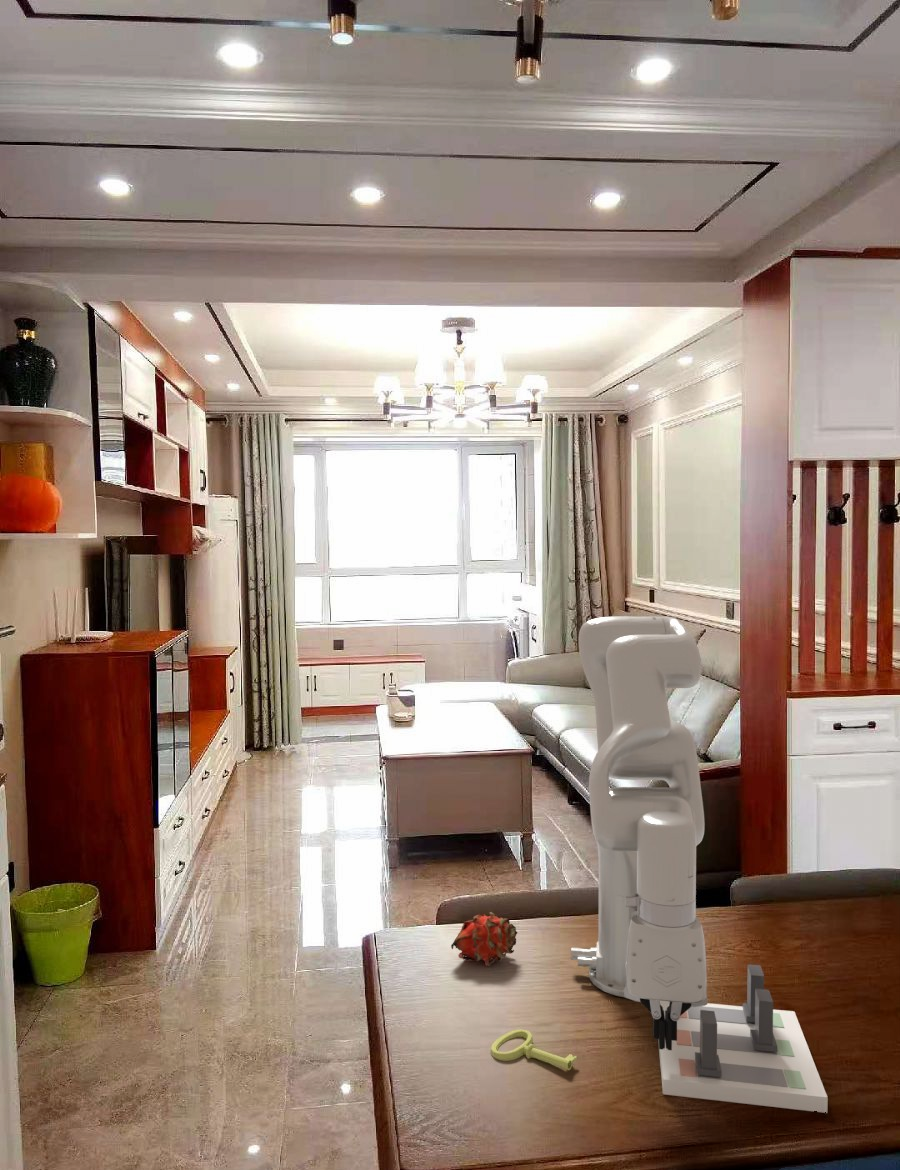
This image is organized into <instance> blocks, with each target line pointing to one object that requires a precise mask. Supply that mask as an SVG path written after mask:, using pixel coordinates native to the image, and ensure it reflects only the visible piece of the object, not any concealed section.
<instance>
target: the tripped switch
mask: <svg viewBox="0 0 900 1170" xmlns="http://www.w3.org/2000/svg"><path fill="white" fill-rule="evenodd" d="M695 1062H696V1068H697V1074H698V1075H707V1076H716V1077H722V1070H721V1065H720V1060H719V1056H718V1055H717V1021H716V1017H715V1012H714V1011H708V1010H700V1053H698V1052H695Z"/></svg>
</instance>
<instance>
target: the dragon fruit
mask: <svg viewBox="0 0 900 1170" xmlns="http://www.w3.org/2000/svg"><path fill="white" fill-rule="evenodd" d="M487 913H488V915H489V916H487V915H486V914H485V913H484V914H482V915H481V914H477V915H474V916H473V917H472V919H469V920H466V921H464V922H463V925H462V927H461V929H460V931H459V933H458V934H457V936H456V938H455V939H454V940H453V942H452V943H451V945H450V948H451V950H453V949H454V948H455V949H458V950H459V951H461V952H459V953H458V958H459V959H461V960H463V961H465V962H480V961H481V960H483V961H484V963H485V966H486V967H490V965H491V964H493V963H495V962H499V961H500V960H502V958H506V956H507V954H510V955H511V954H513V953H514V952H515V950H514V949H513V948H514V946H515V945H516V944H517V938H516V937H517V934H518V933H519V932H518V931H517V927H516V926H515V925H514V924H512V923H511V922H510V920H509V918H503V917H502V916H501V917H500V918H499V917H498V915H497V914H495V913H493V912H492V911H491V912H487Z"/></svg>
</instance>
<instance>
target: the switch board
mask: <svg viewBox="0 0 900 1170" xmlns="http://www.w3.org/2000/svg"><path fill="white" fill-rule="evenodd" d="M669 1003H670V1001H660V1005H661V1006H662V1007H663V1010H664V1016H665V1011H667V1007H668V1006H669ZM700 1010H708V1011H714V1012H715V1017H716V1021H717V1055H718V1056H719V1060H720V1065H721V1070H722V1077H716V1076H707V1075H698V1074H697V1068H696V1062H695V1052H698V1053H700ZM750 1029H752V1030H755V1022H746V1019H745V1015H744V1011H743V1006H742V1005H741V1006H740V1005H730V1004H729V1005H728V1004H720V1003H718V1004H717V1003H709V1002H708V1003H707V1005H705V1006H698V1007H690V1008H689V1009H688V1010H687V1011H686V1012H684V1013H683V1014H682V1015H681V1016H680V1018H679V1020H678V1021H677V1041H673V1040H672V1050H668V1049H666V1043H665V1048H663V1049H659V1048H658V1053H659V1067H660V1073H661V1075H660V1077H661V1086H662V1087H661V1088H662V1089H661V1090H662V1095H667V1096H675V1097H676V1096H677V1097H684V1098H692V1099H693V1098H694V1099H702V1100H709V1101H710V1100H711V1101H720V1102H727V1103H735V1104H736V1103H737V1104H744V1105H745V1104H747V1105H753V1106H764V1107H772V1108H773V1107H774V1108H781V1109H789V1110H798V1111H806V1112H814V1111H817V1113H824V1114H828V1101H829V1099H828V1098H829V1097H828V1094H827V1092H826V1090H825V1087H824V1085H823V1081H822V1080H821V1077H820V1074H819V1071H818V1070H817V1067H816V1064H815V1062H814V1059H813V1056H812V1054H811V1051H810V1049H809V1048H810V1047H809V1045H808V1043H807V1041H806V1038H805V1036H804V1033H803V1030H802V1028H801V1025H800V1022H799V1020H798V1017H797V1015H796V1012H795V1010H794V1011H793V1010H784V1009H782V1010H781V1009H773V1034H774V1037H775V1040H776V1043H777V1052H771V1051H761V1050H754V1047H753V1044H752V1040H751V1037H750ZM657 1041H658V1042H657V1043H658V1045H659V1039H657ZM825 1112H826V1113H825Z"/></svg>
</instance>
